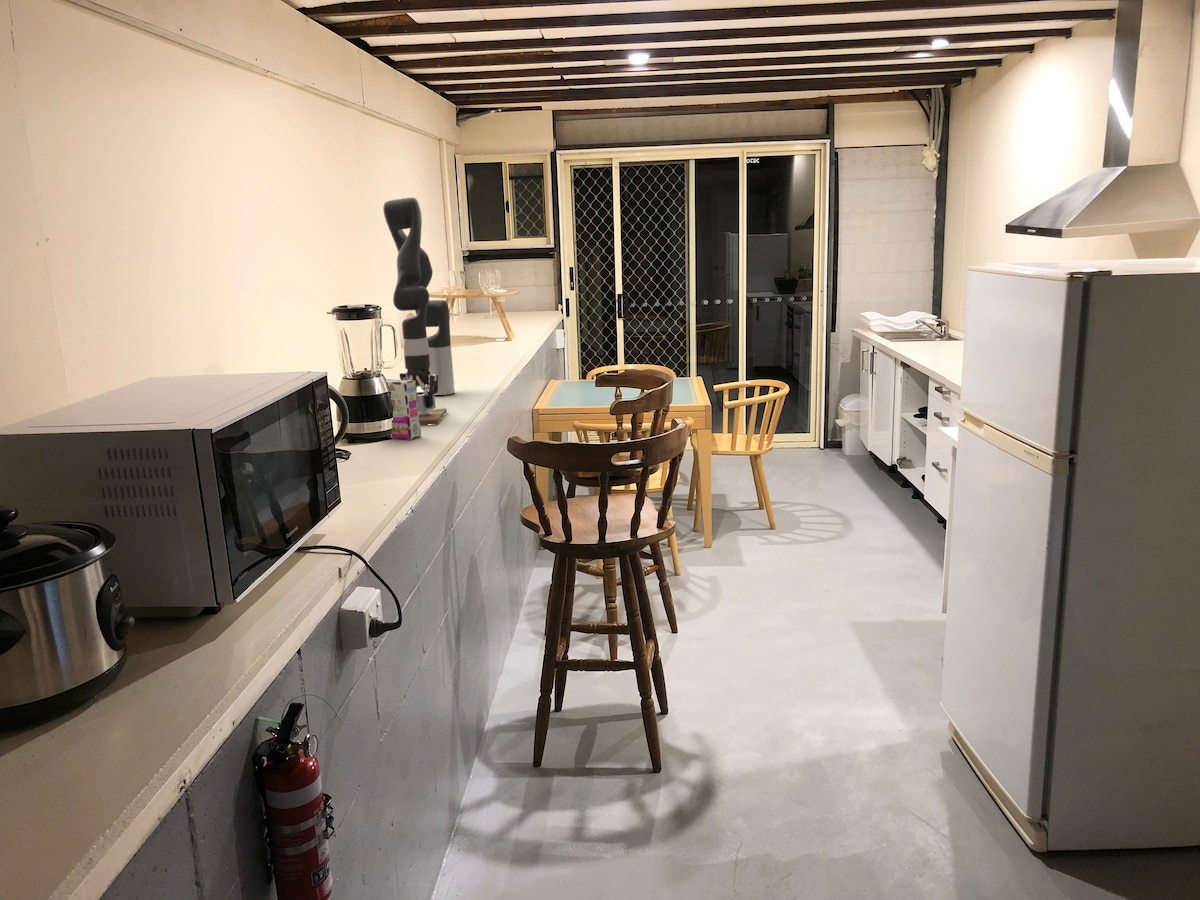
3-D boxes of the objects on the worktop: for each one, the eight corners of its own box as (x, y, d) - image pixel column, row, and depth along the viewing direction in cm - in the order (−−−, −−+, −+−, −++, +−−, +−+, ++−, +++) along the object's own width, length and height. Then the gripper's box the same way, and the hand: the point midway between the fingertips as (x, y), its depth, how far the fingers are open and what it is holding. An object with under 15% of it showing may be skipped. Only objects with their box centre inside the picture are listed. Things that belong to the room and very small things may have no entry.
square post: (416, 416, 278) (415, 399, 277) (422, 414, 281) (420, 398, 279) (422, 416, 277) (421, 400, 276) (428, 415, 279) (427, 398, 278)
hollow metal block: (407, 410, 277) (406, 394, 276) (421, 406, 282) (419, 391, 281) (422, 411, 274) (420, 395, 273) (435, 408, 279) (434, 392, 278)
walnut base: (409, 414, 288) (409, 410, 287) (446, 412, 288) (446, 408, 287) (397, 426, 270) (397, 421, 270) (437, 424, 270) (437, 420, 270)
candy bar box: (422, 436, 256) (416, 379, 252) (410, 440, 251) (405, 382, 248) (391, 434, 261) (385, 378, 257) (380, 438, 257) (374, 381, 253)
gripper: (390, 353, 275) (395, 407, 279) (425, 355, 267) (430, 410, 271) (407, 350, 281) (412, 403, 285) (442, 352, 273) (447, 406, 277)
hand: (421, 406), depth 278 cm, fingers closed on hollow metal block, 6 cm apart
